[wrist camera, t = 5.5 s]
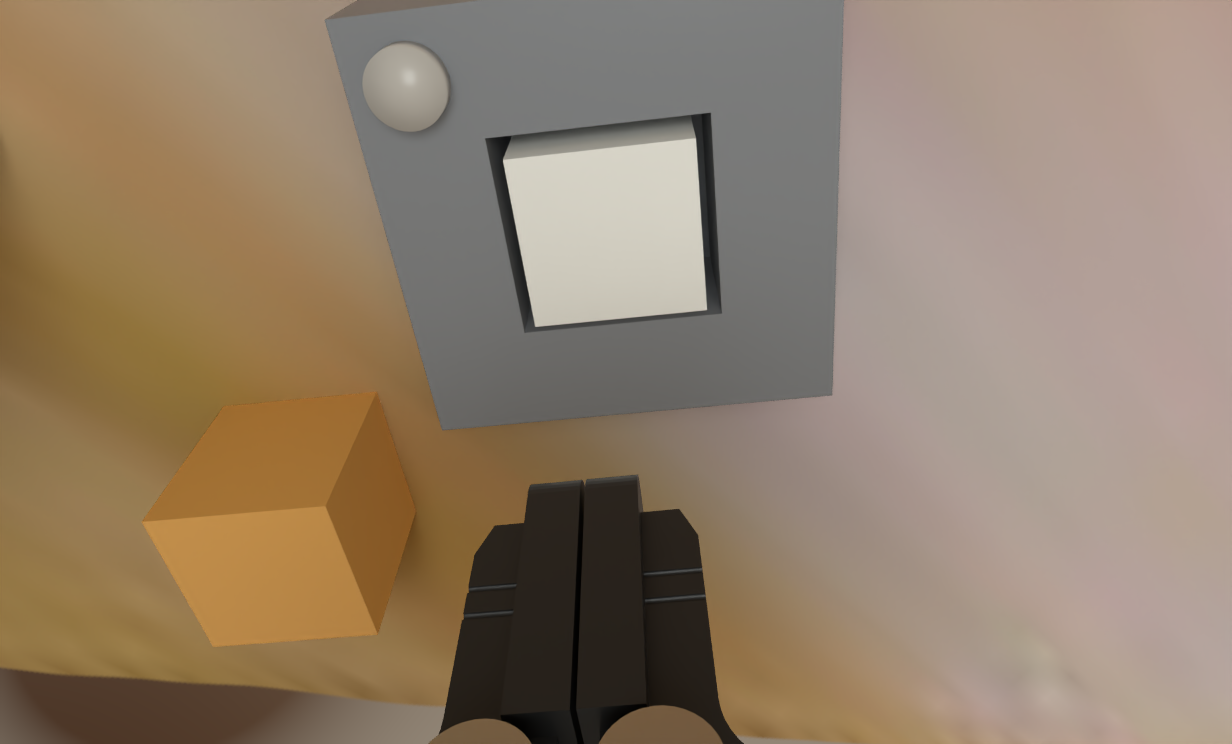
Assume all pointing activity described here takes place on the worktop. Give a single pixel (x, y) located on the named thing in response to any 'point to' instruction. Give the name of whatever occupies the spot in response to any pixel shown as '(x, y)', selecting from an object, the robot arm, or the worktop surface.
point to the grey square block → (590, 96)
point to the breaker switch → (609, 220)
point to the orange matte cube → (287, 521)
